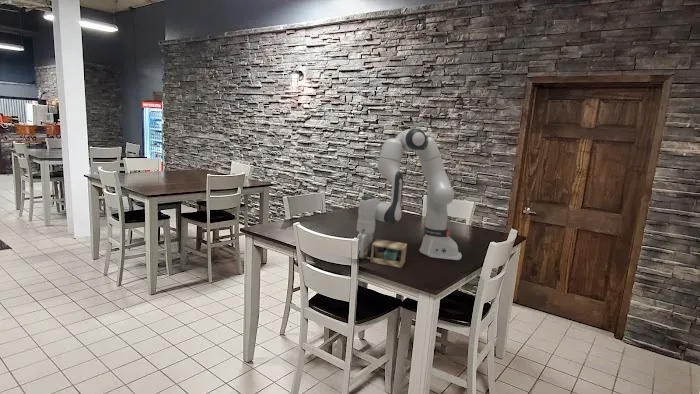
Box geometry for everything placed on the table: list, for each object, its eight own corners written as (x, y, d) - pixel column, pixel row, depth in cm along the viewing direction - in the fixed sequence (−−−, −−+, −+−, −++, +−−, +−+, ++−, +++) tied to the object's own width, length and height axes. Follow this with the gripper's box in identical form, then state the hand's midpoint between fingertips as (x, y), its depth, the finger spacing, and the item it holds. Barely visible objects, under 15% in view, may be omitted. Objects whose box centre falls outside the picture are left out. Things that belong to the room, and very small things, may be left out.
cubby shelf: (405, 261, 198) (407, 243, 196) (401, 267, 188) (403, 249, 187) (375, 256, 202) (376, 238, 200) (370, 262, 192) (372, 243, 191)
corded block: (397, 261, 197) (398, 250, 196) (395, 265, 191) (396, 253, 190) (360, 255, 202) (361, 243, 201) (357, 258, 196) (358, 247, 195)
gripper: (366, 233, 185) (364, 261, 187) (376, 224, 204) (374, 250, 207) (353, 231, 187) (351, 259, 189) (364, 222, 206) (362, 248, 209)
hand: (363, 254), depth 198 cm, fingers closed on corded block, 4 cm apart
